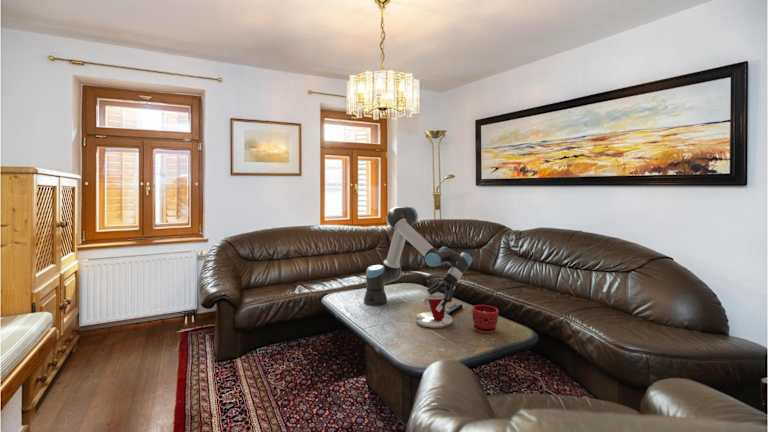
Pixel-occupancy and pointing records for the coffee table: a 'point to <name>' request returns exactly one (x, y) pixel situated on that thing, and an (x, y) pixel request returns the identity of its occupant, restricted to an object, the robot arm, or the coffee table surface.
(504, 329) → the coffee table surface
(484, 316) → the plant pot
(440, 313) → the plastic cup
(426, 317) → the disc
